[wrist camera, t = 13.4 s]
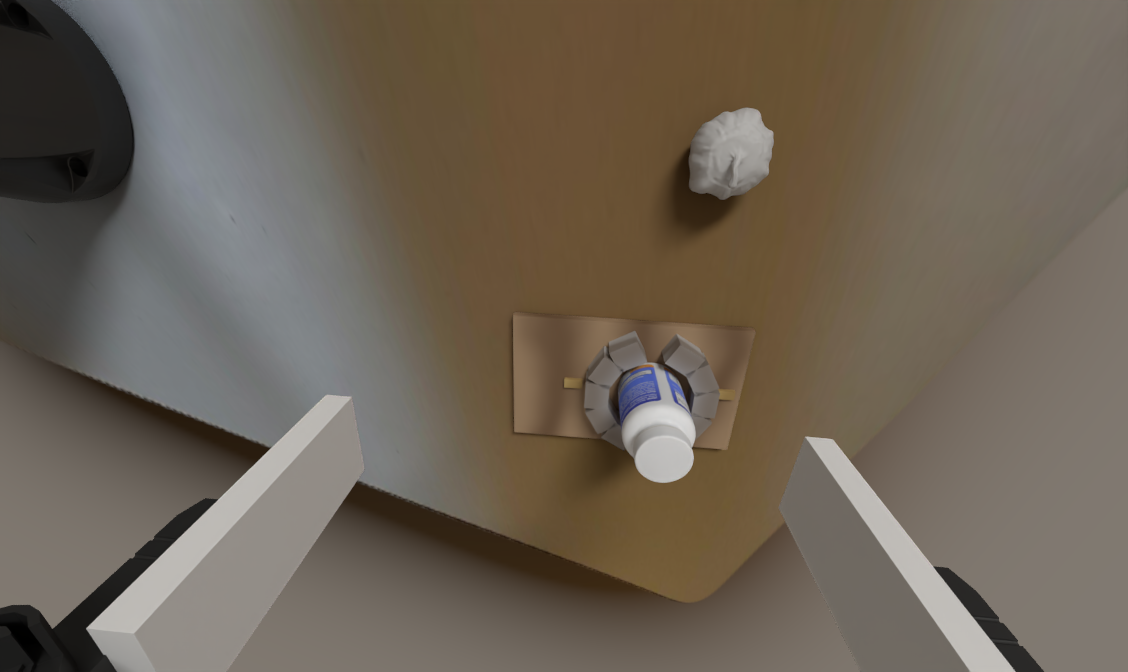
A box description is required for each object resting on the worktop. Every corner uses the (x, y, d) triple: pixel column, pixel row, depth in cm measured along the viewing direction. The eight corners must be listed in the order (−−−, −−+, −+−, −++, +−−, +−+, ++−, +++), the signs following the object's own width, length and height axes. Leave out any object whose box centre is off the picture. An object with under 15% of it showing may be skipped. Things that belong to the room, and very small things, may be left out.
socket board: (515, 427, 42) (509, 446, 39) (514, 311, 37) (507, 325, 34) (724, 444, 41) (733, 465, 38) (752, 327, 36) (764, 343, 33)
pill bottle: (611, 406, 39) (614, 483, 30) (626, 354, 37) (633, 421, 28) (670, 418, 39) (690, 498, 30) (688, 367, 37) (715, 437, 28)
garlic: (723, 213, 32) (743, 225, 28) (664, 172, 32) (675, 178, 27) (779, 138, 30) (812, 137, 25) (718, 92, 29) (740, 82, 25)
